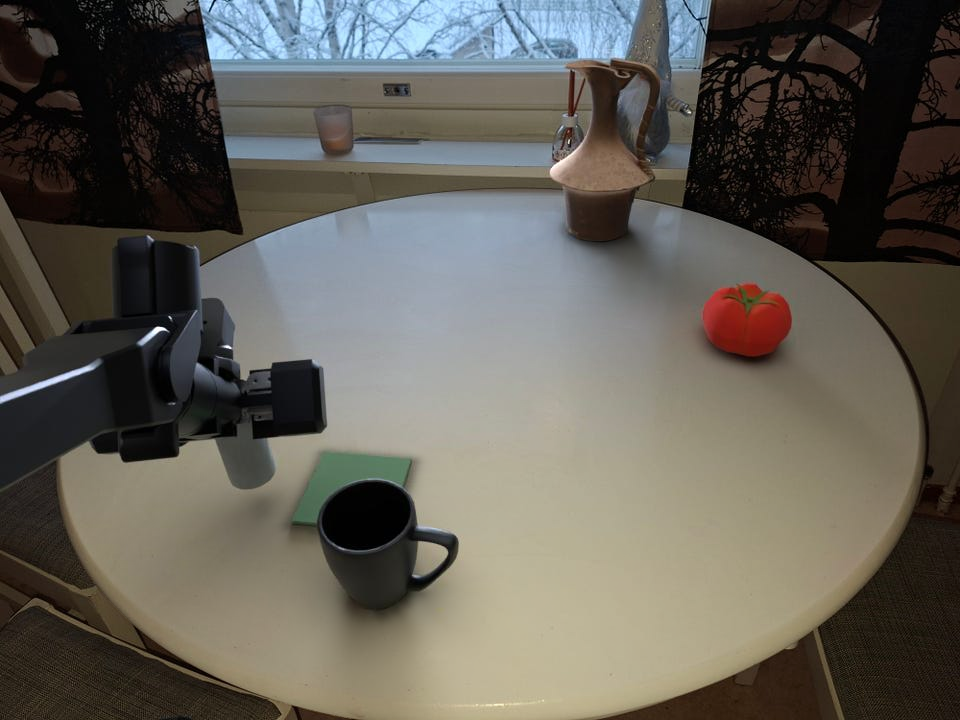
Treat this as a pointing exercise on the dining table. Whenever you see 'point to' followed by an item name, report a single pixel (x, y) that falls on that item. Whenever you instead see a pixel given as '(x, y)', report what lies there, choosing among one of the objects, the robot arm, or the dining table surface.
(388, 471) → the green mat
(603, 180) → the pitcher
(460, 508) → the dining table surface
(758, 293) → the tomato
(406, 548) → the mug
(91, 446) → the robot arm
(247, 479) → the grey tumbler
